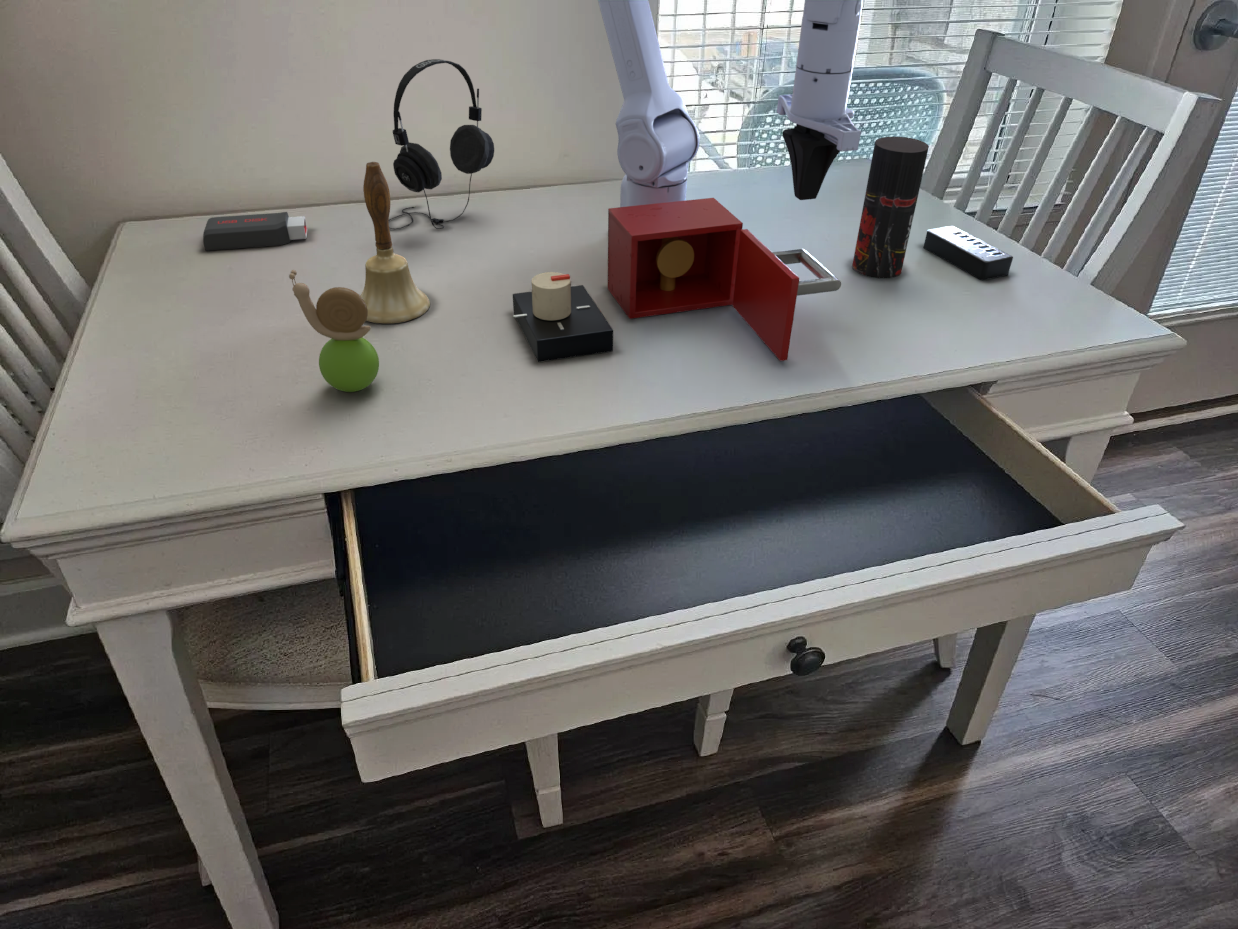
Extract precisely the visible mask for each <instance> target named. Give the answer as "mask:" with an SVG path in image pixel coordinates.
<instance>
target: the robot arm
mask: <svg viewBox="0 0 1238 929" xmlns="http://www.w3.org/2000/svg"><path fill="white" fill-rule="evenodd" d="M597 3H598V6H599V11H600V13H601V18H602V22H603V26H604V29H605V30H604V31H605V33H606V37H607V41H608V45H609V48H610V51H611V56H612V60H613V63H614V68H615V71H616V74H617V79H618V82H619V86H620V89H621V94H622V97H623V102H622V105H621V108H620V110H619V112H618V115H617V117H616V120H615V128H616V131H617V136H618V140H617V142H618V143H617V151H616V152H617V154H616V155H617V160H618V163H619V166H620V168H621V170H622V171H623V173H624V176H623V177H622V180H621V183H620V191H619V192H620V194H619V197H620V198H619V207H628V206H637V205H647V204H657V203H666V202H676V201H686V200H687V188H688V172H689V163H690V162H691V161H692V160H693V159H694V158H695V157H696V155H697V153H698V152H699V149H700V140H701V139H700V132H699V129H698V126H697V125H696V123H695V122H694V120H693V118H691V116H690V115H689V112H688V110H687V107H686V103H685V99H684V98H683V97H682V96H681V95H680V94H679V93H678V92H677V91H675V90H674V89H673V88H672V87H671V86H670V83H669V80H668V76H667V73H666V68H665V63H664V60H663V59H664V58H663V55H662V51H661V46H660V42H659V39H658V35H657V30H656V26H655V22H654V18H653V13H652V10H651V6H650V1H649V0H597ZM863 3H864V0H804V4H803V12H802V18H801V25H800V33H799V41H798V49H797V56H796V64H795V71H794V72H795V73H794V80H793V87H792V93H791V94H789V93H788V94H779V95H778V97H777V98H778V99H777V106H776V114H778V115H779V116H786V118H787V119H788V120H789V121H790V122H791V123H793V124H795V125H794V127H793V128H785V129H784V130H782V139H783V141H784V143H785V145H786V149H787V152H788V156H789V160H790V167H791V176H792V185H793V193H794V197H795V198H797V199H798V200H799V201H807V200H816V199H817V197H818V195H819V193H820V190H821V188H822V185H823V183H824V181H825V178H826V175H827V173H828V171H829V169H830V168H831V166H832V164H833V162H834V161H835V159H836V158H837V156H838V155H839V154H840V153H841V152H855V151H859V146H860V140H861V136H862V130H860V129H859V128H857V126H855V125H854V123H853V121H852V119H853V118H854V116H855V111H854V110H853V109H851V108H849V107H847V106H848V105H847V104H848V99H849V94H850V87H851V82H852V74H853V69H854V63H855V56H856V51H857V44H858V38H859V34H860V33H859V32H860V26H861V16H862V10H863Z"/></svg>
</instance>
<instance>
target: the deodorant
mask: <svg viewBox="0 0 1238 929" xmlns="http://www.w3.org/2000/svg"><path fill="white" fill-rule="evenodd" d="M929 148H930V146H929V144H928V143H926V142H925V141H922V140H919V139H917V138H913V137H908V136H907V137H906V136H897V135H896V136H892V135H891V136H883V137H879V138H877V139H875V140H874V144H873V151H872V157H871V161H870V166H869V172H868V178H867V183H866V189H865V193H864V200H863V205H862V209H861V216H860V222H859V226H858V232H857V237H856V244H855V249H854V254H853V260H852V269H853V270H854V272H856V273H858V274H859V275H862V276H864V277H867V278H868V277H869V278H873V279H884V280H885V279H892V278H897V277H898V276H900V275H901V274H902V271H903V267H904V262H905V257H906V253H907V247H908V243H909V239H910V234H911V230H912V225H913V221H914V216H915V212H916V207H917V203H918V198H919V193H920V190H921V184H922V180H923V176H924V170H925V166H926V162H927V157H928V153H929Z"/></svg>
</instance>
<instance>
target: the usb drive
mask: <svg viewBox="0 0 1238 929" xmlns="http://www.w3.org/2000/svg"><path fill="white" fill-rule="evenodd" d="M307 235H308V226H307V221H306V216H305V215H300V216H289V212H288V211H283V212H282V211H281V212H271V213H255V214H240V215H227V216H226V215H225V216H215V217H213V216H212V217H210V218H208V219H207V220H206V224H205V227H204V230H203V234H202V243H203V246H204V247H203V248H204V250H205V251H207V252H208V251H209V252H210V251H224V250H236V249H237V250H238V249H248V248H249V249H251V248H263V247H277V246H278V247H279V246H283V245H286V244H287V245H288V244H290V243H291V241H292V240H293V241H294V240H306V239H307Z"/></svg>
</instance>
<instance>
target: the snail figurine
mask: <svg viewBox="0 0 1238 929" xmlns="http://www.w3.org/2000/svg"><path fill="white" fill-rule="evenodd" d="M297 273H298V272H297V271H296V270H295V269H291V270H290V273H289V274H288V278H289V280H291V283H292V286H293V287H292V292H293V296H294V297H295V298H296V299H297V301H298V305H299V307H300V309H301V311H302V313H303V315H304V317H305V319H306V321H307V323H308V324H309V325H310V326H311V328H312V329H313V330H314V331H315V332H317V334H319V335H321V336H323V337H326V338H328V339H329V340H328V341H327V342H326V343H325V344H323V347H322V348H321V349H320V353H319V357H318V367H319V371H320V374H321V376H322V378H323V379H324V380H325V382H326V383H327V384H328V385H329V386H330V387H332V388H334V389H335V390H338V391H341V392H344V393H345V392H347V393H354V392H359V391H361V390H364V389H366V388H367V387H369V386H370V385H371V384H373V382H374V381H375V379H376V377H377V375H378V374H379V370H380V359H379V354H378V352H377V350H376V348H375V346H373V345H374V344H372V343H371V342H370V341H369V340H368V339H366V338H364V337H365V336H366V335H367V334H368V333H369V332H370V331H371V329H372V327H371V325H364V324H365V323H366V322H367V321H366V319H367V316H368V310H367V305H366V303H365V301H364V300H363V298H362V297H361V296H360V295H361V294H359V293H358V292H357V291H355V290H352V289H351V288H348V287H344V286H343V287H342V286H336V287H331V288H329V289H326V290H324V292H322V293H321V294H320V296H319V297H318V299H317V301H316V306H315V304H314V302H313V301H312V299H311V296H310V294H311V293H310V292H311V291H310V288H309V286H308V285H306V283H303V282H296V275H298V274H297ZM294 283H295V284H294Z"/></svg>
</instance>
